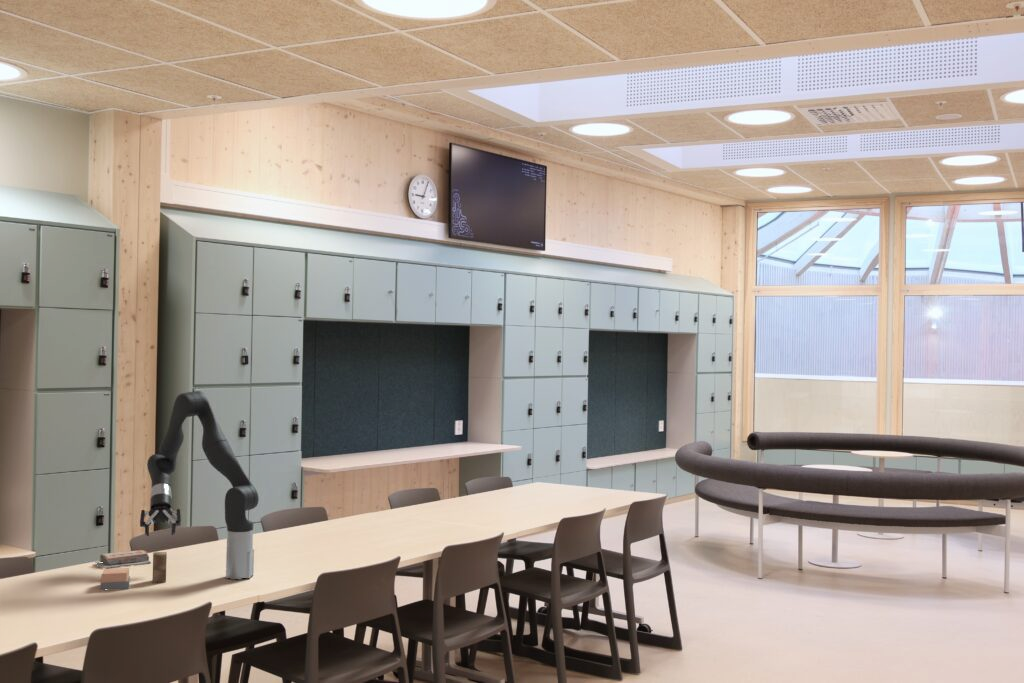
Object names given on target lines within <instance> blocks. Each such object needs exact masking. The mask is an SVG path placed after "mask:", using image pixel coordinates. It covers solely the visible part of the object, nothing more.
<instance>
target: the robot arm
mask: <svg viewBox="0 0 1024 683" xmlns="http://www.w3.org/2000/svg"><path fill="white" fill-rule="evenodd" d="M175 398H176V399H174V403H173V406H172V411H171V415H170V419H169V423H168V426H167V429H166V432H165V435H164V437H163V439H162V441H161V443H160V446H159V453H160V454H156V453H155V454H152V455H150V456H149V458H148V459H147V463H146V465H147V466H146V468H147V471H148V474H149V476H150V480H151V491H150V498H149V500H150V502H149V507H150V508H149V509H150V510H148V511H145V509H142V510H141V511H140V519H139V527H141V528H143V527H144V535H146V537H149V535H150V526H151V525H153V524H154V523H165V522H166V523H167V524H169V525H170V526H171V529H170V530H171V533H170V534H171V536H174V535H175V534H176V527H178V526H181V521H182V519H181V509H180V508H177V509H176V510H175V509H174V510H173V509H172V499H173V497H172V495H173V494H172V478H171V476H170V475H172V474H173V473H174V472H175V471H176V466H177V457H178V454H179V451H180V448H181V446H182V444H183V443H184V430H183V424H184V422H185V420H186V419H187V418H189V417H190V418H191V417H194V416H195V417H197V418H198V419H199V421H200V423H201V425H202V438H201V439H202V440H201V448H202V450H203V453H204V455H205V457H206V458H207V461H208V462H209V464H210V465H211V466H212V467H213V468H214V469H215V470H216V471H218V472H219V473H220V474H221V475H222V476H223V477H225V478H226V479H227V481H228V482H229V483H230V484H231V486H232V487H230V488H229V489H228V490H227V492H226V493H225V497H224V520H225V521H224V522H225V525H226V553H225V554H226V556H225V557H226V559H225V560H226V561H225V563H226V564H225V578H226V577H227V578H226V579H228V578H230V579H229V580H235V579H238V580H242V579H241V578H250V577H251V576H252V575H253V574H254V572H255V570H254V569H255V568H254V566H255V565H254V564H255V549H254V547H253V545H254V543H253V542H254V523H253V521H252V520H249V519H247V516H246V515H247V514H246V513H247V512H246V511H251V510H253V509H255V508H256V507H257V506H258V505H259V501H260V500H259V499H260V498H259V495H258V494H259V493H258V492H257V491H258V490H257V489H256V487H255V485H254V484H253V483H252V481H251V480H250V478H249V477H248V475H247V474H246V473H245V471H244V470H243V468H242V466H241V464H240V462H239V461H238V459H237V457H236V456H235V453H234V452H233V450H232V447H231V445H230V443H229V441H228V440H227V438H226V436H225V435H224V433H223V431H222V429H221V426H220V424H219V422H218V420H217V418H216V417H215V414H214V412H213V411H214V410H213V409H212V406H211V404H210V401H209V400H208V399H209V398H208V397H207V395H206V394H205V392H202V391H199V390H194V391H188V392H187V391H186V392H183V393H180V394H178V395H177V397H175ZM147 516H149V517H148V519H147V520H146V521H145V518H147ZM173 516H175V518H176V520H175V519H174V518H173ZM253 576H254V575H253ZM253 576H252V577H253ZM252 577H251V578H252ZM251 578H250V579H251Z"/></svg>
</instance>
